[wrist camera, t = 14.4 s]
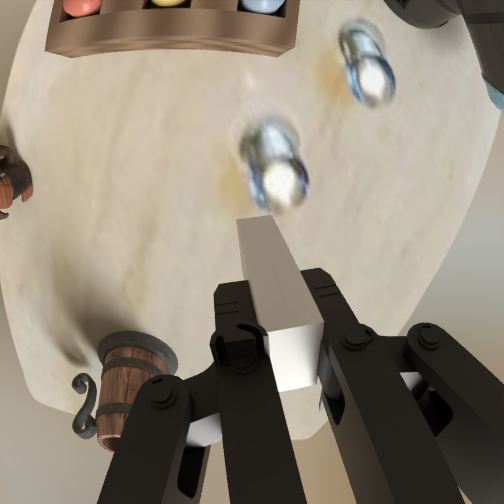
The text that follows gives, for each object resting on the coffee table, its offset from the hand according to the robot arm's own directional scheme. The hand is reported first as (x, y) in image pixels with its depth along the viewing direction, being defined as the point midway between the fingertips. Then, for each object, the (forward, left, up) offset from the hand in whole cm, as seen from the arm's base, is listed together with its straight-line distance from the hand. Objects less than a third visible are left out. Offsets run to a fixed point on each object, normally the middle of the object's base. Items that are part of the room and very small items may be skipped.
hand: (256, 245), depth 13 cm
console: (+8, -20, -28) cm, 35 cm away
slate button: (-2, -20, -24) cm, 31 cm away
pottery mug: (+33, +3, -29) cm, 44 cm away
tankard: (+18, +41, -29) cm, 53 cm away
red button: (+18, -20, -24) cm, 36 cm away
